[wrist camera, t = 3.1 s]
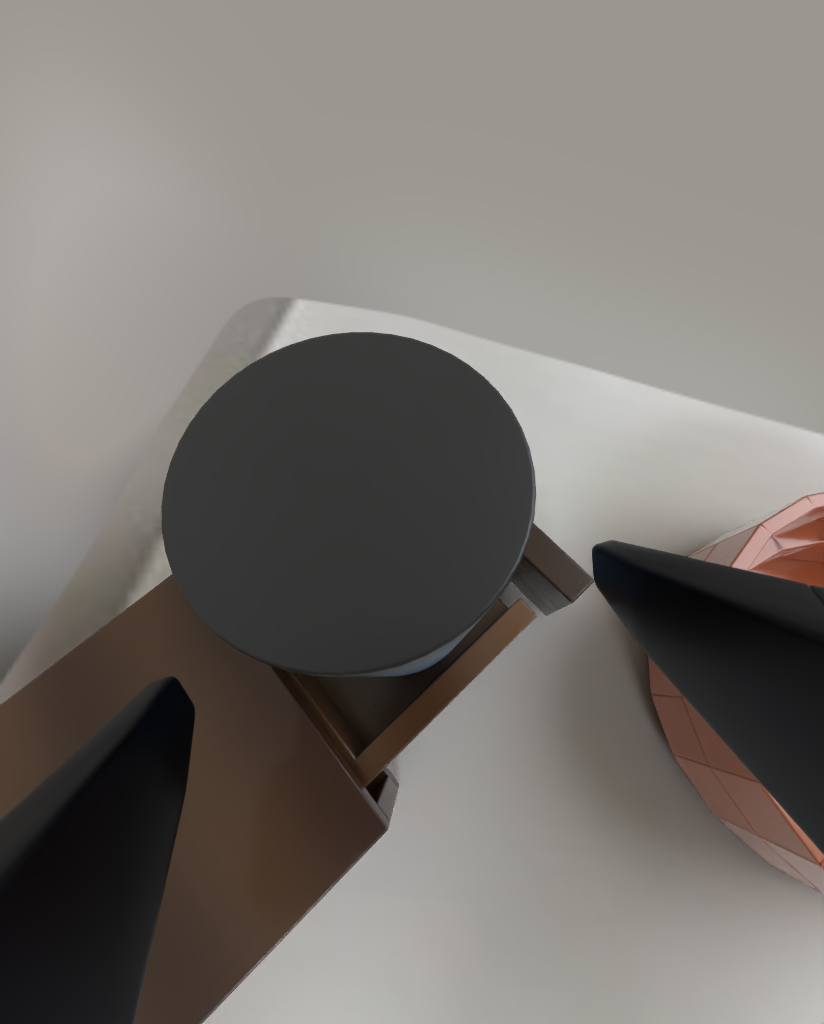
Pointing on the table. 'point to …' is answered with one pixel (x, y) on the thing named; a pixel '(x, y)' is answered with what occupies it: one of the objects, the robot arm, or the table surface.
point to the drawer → (434, 668)
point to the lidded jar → (349, 506)
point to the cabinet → (209, 794)
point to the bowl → (696, 746)
